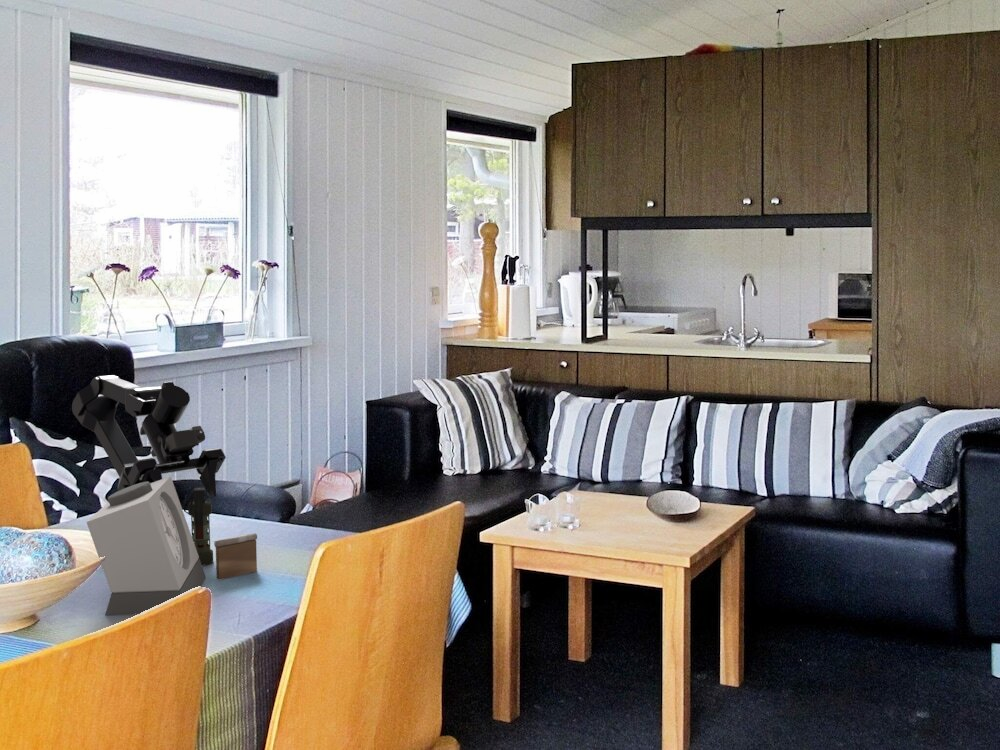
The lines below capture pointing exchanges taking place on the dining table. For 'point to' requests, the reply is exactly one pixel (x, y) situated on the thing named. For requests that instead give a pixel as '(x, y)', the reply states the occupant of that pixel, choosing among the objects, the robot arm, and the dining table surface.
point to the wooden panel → (236, 556)
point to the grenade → (200, 523)
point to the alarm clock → (145, 547)
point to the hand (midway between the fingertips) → (193, 501)
